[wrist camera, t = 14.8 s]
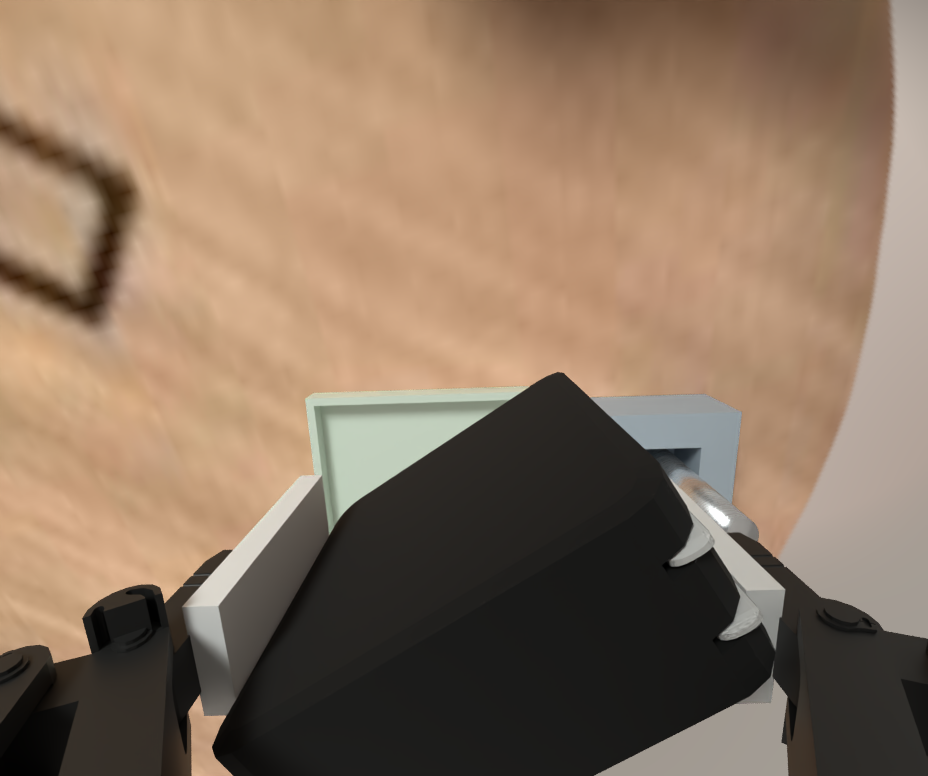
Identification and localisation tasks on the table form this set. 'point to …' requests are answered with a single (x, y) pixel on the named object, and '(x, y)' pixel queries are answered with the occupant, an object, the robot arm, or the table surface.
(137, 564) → the table surface
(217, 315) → the table surface
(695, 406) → the square hole cube
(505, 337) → the table surface
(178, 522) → the table surface
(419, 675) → the electronic device
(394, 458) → the tray
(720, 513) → the cylinder
